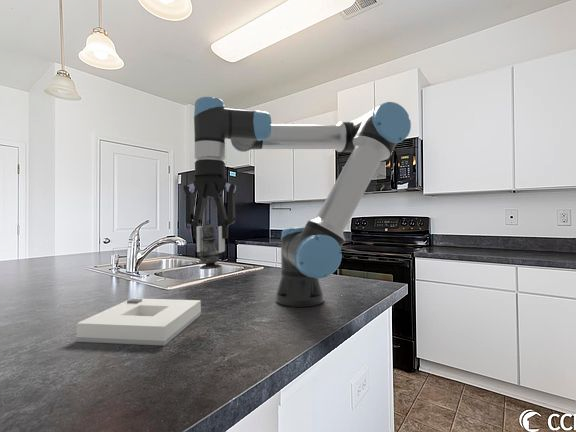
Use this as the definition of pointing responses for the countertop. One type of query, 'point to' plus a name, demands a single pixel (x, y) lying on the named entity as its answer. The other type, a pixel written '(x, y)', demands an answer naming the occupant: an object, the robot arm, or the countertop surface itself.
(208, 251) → the dark gray chess piece
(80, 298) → the countertop surface
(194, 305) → the socket plate
